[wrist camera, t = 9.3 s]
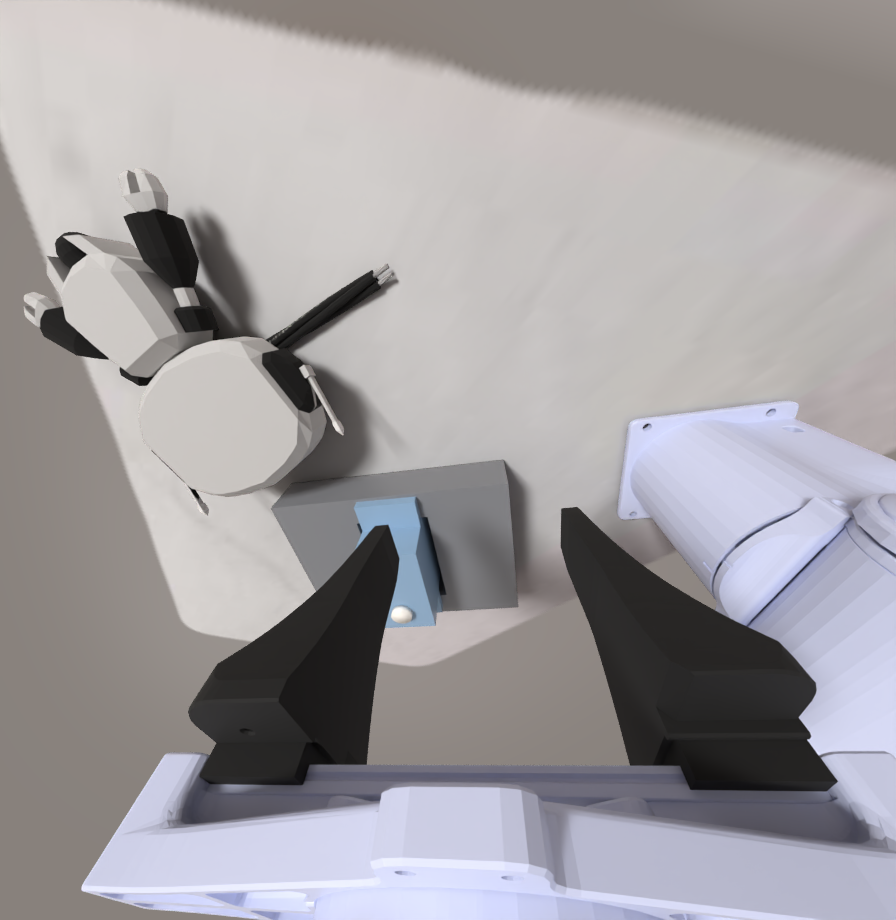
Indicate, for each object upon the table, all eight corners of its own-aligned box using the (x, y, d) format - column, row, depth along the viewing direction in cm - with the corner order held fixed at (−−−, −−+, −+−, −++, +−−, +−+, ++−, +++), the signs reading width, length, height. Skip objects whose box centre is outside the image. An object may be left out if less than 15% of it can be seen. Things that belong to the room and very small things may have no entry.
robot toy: (72, 307, 19) (248, 491, 25) (-35, 308, 15) (202, 528, 20) (195, 168, 16) (371, 418, 21) (97, 122, 12) (346, 446, 17)
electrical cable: (387, 260, 17) (382, 259, 16) (396, 279, 17) (393, 279, 16) (228, 366, 20) (217, 369, 19) (239, 380, 21) (229, 384, 20)
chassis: (503, 459, 22) (508, 483, 19) (513, 576, 28) (518, 607, 25) (291, 483, 24) (270, 508, 21) (342, 588, 30) (330, 617, 27)
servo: (420, 475, 22) (407, 533, 17) (444, 580, 28) (439, 647, 23) (367, 481, 23) (338, 538, 18) (400, 582, 28) (386, 649, 23)
